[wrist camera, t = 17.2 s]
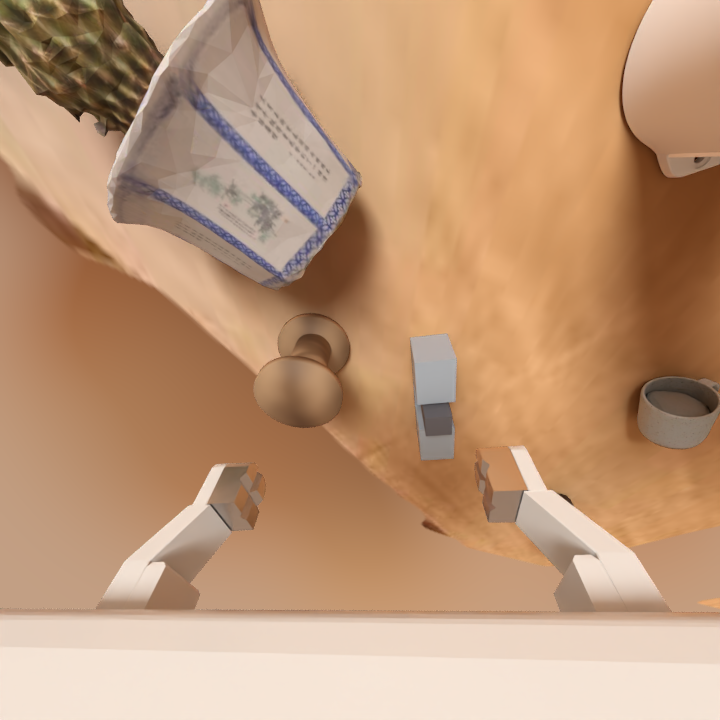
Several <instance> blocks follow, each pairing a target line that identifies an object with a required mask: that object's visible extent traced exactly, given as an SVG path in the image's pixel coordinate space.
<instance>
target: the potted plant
mask: <svg viewBox="0 0 720 720" xmlns="http://www.w3.org/2000/svg"><path fill="white" fill-rule="evenodd" d="M0 61H1V62H2V63H3V64H4V65H5V66H6V67H8V66H15V67H16V68H17V69H18V71H19V72H20V73H21V75H22V76H23V77H24V79H25V80H26V81H27V83H28V84H29V85H30V87H31V88H32V89H33V91H34V92H35V93H36V95H42V96H47V97H48V98H49V99H51V100H52V101H54V102H55V103H56V104H58V105H59V106H62V107H64V108H65V109H66V110H67V111H69V112H70V113H71V114H72V115H73V116H74V117H75V118H76V119H77V120H78V121H79V122H80V116H81V115H82V114H83V112H87V113H90V114H92V115H94V116H95V117H96V119H97V120H98V121H99V122H97V123H95V124H94V125H95V128H96V130H97V133H99V134H100V135H102V136H104V137H105V135H106V134H107V132H108V131H122V132H123V133H124V134H125V137H124V139H123V141H122V143H121V145H120V147H119V149H118V151H117V153H116V160H115V162H114V165H113V167H112V170H111V172H110V175H109V177H108V184H107V189H108V208H109V211H110V214H111V216H112V218H113V220H114V221H116V222H117V223H126V224H141V225H148V226H152V227H155V228H159V229H162V230H164V231H167V232H169V233H171V234H173V235H175V236H177V237H179V238H181V239H183V240H185V241H187V242H189V243H191V244H193V245H195V246H197V247H198V248H200V249H202V250H204V251H205V252H207V253H209V254H210V255H212V256H213V257H215V258H216V259H218V260H219V261H221V262H223V263H225V264H227V265H229V266H230V267H232V268H233V269H235V270H236V271H238V272H239V273H241V274H243V275H245V276H247V277H249V278H250V279H252V280H254V281H256V282H257V283H259V284H261V285H263V286H265V287H268V288H271V289H274V290H279V289H280V288H281V287H283V286H289V285H290V284H291V283H292V282H293V281H295V280H297V279H300V278H301V277H302V276H303V274H304V272H305V270H306V268H307V266H308V265H309V263H310V262H311V260H312V259H313V257H314V256H315V255H316V254H317V253H318V252H319V251H320V250H321V249H322V248H323V246H324V244H325V242H326V241H327V239H328V238H329V237H330V236H331V235H332V234H333V233H334V232H335V231H336V230H337V229H338V228H339V227H340V226H341V224H342V222H343V220H344V219H345V217H346V215H347V212H348V209H349V206H350V204H351V203H352V201H353V200H354V198H355V195H356V193H357V190H358V188H360V187H361V186H362V177H361V175H360V173H359V172H357V171H356V169H355V168H354V167H353V165H352V164H351V163H350V162H349V160H348V159H347V158H346V157H345V155H344V154H343V153H342V152H341V150H340V149H339V148H338V147H337V146H336V144H335V143H334V142H333V141H332V139H331V138H330V137H329V135H328V134H327V133H326V132H325V130H324V129H323V128H322V126H321V125H320V124H319V122H318V121H317V120H316V118H315V117H314V115H313V114H312V112H311V111H310V110H309V108H308V107H307V105H306V104H305V102H304V101H303V99H302V98H301V96H300V95H299V93H298V92H297V90H296V89H295V87H294V86H293V84H292V83H291V81H290V80H289V78H288V76H287V74H286V72H285V70H284V69H283V67H282V65H281V63H280V61H279V59H278V56H277V54H276V51H275V49H274V46H273V44H272V41H271V38H270V35H269V32H268V28H267V25H266V22H265V18H264V15H263V11H262V8H261V5H260V1H259V0H207V2H206V4H205V5H204V7H203V9H202V10H200V11H199V12H198V13H197V14H196V15H195V16H194V17H193V19H192V20H191V21H190V22H189V23H188V24H187V25H186V26H185V27H184V28H183V30H182V31H181V32H180V34H179V35H178V36H177V37H176V39H175V40H174V41H173V43H172V45H171V46H170V48H169V50H168V51H167V53H166V55H165V57H164V56H163V55H162V54H161V53H160V52H159V51H158V50H157V48H156V46H155V44H154V42H153V40H152V39H151V38H150V37H149V35H148V34H147V32H146V31H145V29H144V28H143V27H142V26H141V25H140V24H138V23H137V22H136V21H135V20H134V18H133V16H132V15H131V14H130V12H129V11H128V10H127V9H126V8H125V6H124V5H123V1H122V0H0Z"/></svg>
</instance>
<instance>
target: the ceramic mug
mask: <svg viewBox="0 0 720 720" xmlns="http://www.w3.org/2000/svg"><path fill="white" fill-rule="evenodd" d="M719 386H720V385H719V384H718V383H716V382H714V381H711V380H709V379H705V378H702V379H699V380H695V379H691V378H686V377H678V376H666V377H659V378H656V379H653V380H650V381H649V382H647V383H646V384H645V385H644V386H643V388H642V390H641V395H640V402H639V410H638V415H637V423H638V427H639V430H640V432H641V433H642V434H643V436H645V437H646V438H647V439H648V440H650V441H651V442H653V443H655V444H657V445H660V446H663V447H666V448H671V449H688V448H692V447H695V446H697V445H698V444H700V443H701V442H702V441H703V440H704V439H705V438H706V437H707V436H708V434H709V432H710V430H711V427H712V425H713V424H714V422H715V420H716V419H717V417H718V415H719V413H720V394H719V393H718V390H719Z"/></svg>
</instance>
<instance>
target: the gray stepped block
mask: <svg viewBox="0 0 720 720" xmlns="http://www.w3.org/2000/svg"><path fill="white" fill-rule="evenodd" d="M410 344H411V357H412V371H413V384H414V398H415V411H416V425H417V435H418V442H419V449H420V456H421V460H438V459H454V433H455V427H454V424H453V420H452V435H440V436H426V434H425V429H424V423H423V417H422V411H421V405H422V404H435V403H447V402H455V399H456V365H457V358H456V356H455V353H454V350H453V348H452V345H451V342H450V340H449V337H448V335H447V334H439V335H430V336H421V337H412V338H410Z"/></svg>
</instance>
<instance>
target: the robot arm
mask: <svg viewBox="0 0 720 720" xmlns="http://www.w3.org/2000/svg"><path fill="white" fill-rule="evenodd" d="M622 99H623V109H624V114H625V117H626V120H627V123H628V125H629V127H630V129H631V131H632V132H633V134H634V135H635V136H636V137H637V138H638V139H639V140H640V141H641V142H642V143H644V144H645V145H647V146H648V147H650V148H651V149H652V150H653V151H654V152H655V153H656V155H657V158H658V162H659V165H660V168H661V170H662V172H663V174H664V175H665V176H666V177H669V178H674V177H683V176H687V175H690V174H693V173H696V172H698V171H701V170H704V169H707V168H710V167H713V166H716V165H719V164H720V0H653V1H652V3H651V4H650V6H649V8H648V10H647V12H646V13H645V15H644V17H643V19H642V21H641V24H640V26H639V28H638V30H637V33H636V35H635V38H634V40H633V43H632V46H631V49H630V52H629V55H628V59H627V63H626V67H625V72H624V78H623V90H622ZM695 157H698V158H697V160H696V161H694V159H695ZM476 458H477V462H476V463H475V478H476V482H477V486H478V490H479V491H480V492H481V493H482V494H483V506H484V510H485V513H486V516H487V519H488V522H516V523H515V524H516V525H517V526H518V527H519V528H520V529H521V530H522V531H523V533H524V534H525V535H526V536H527V537H528V538H529V539H530V540H531V541H532V542H533V543H534V544H535V545H536V547H537V548H538V549H539V550H540V551H541V552H542V553H543V554H544V555H545V556H546V557H547V558H548V559H549V561H550V562H551V563H552V564H553V565H554V566H555V567H556V568H557V569H558V570H559V571H560V572H561V573H562V574H563V578H562V580H561V582H560V583H559V585H558V587H557V589H556V591H555V593H554V596H555V599H556V601H557V604H558V606H559V609H560V612H541V611H540V612H539V611H536V612H535V611H527V612H526V611H365V610H363V611H362V610H361V611H360V610H358V611H357V610H194V609H195V606H196V604H197V601H198V599H199V596H200V593H199V591H198V590H197V589H196V588H195V587H194V586H192V585H191V584H190V582H191V581H192V580H193V579H194V578H195V576H196V575H197V574H198V573H199V572H200V570H201V569H202V568H203V567H204V566H205V564H206V563H207V561H209V559H210V558H211V557H212V556H213V555H214V553H215V552H216V551H217V550H218V548H219V547H220V546H221V545H222V543H223V542H224V541H225V540H226V539H227V538H228V536H229V535H230V534H231V533H232V532H231V531H238V530H253V529H254V526H255V523H256V520H257V517H258V514H259V510H258V507H257V505H259V504H260V503H261V501H262V500H263V498H264V495H265V490H266V483H265V479H264V477H263V475H262V474H260V473H258V472H257V471H258V466H257V465H256V463H229V464H216V465H215V466H214V467H213V468H212V469H211V471H210V473H209V475H208V477H207V479H206V480H205V482H204V484H203V486H202V488H201V490H200V492H199V494H198V496H197V498H196V500H195V501H194V503H193V505H189V506H188V507H186V508H185V509H184V510H183V511H182V512H181V513H180V514H178V515H177V516H176V517H175V518H174V519H173V520H172V521H170V522H169V523H168V524H167V525H166V526H165V527H164V528H162V529H161V530H160V531H159V532H158V533H157V534H156V535H154V536H153V537H152V538H151V539H150V540H149V541H147V542H146V543H145V544H144V545H143V546H142V547H141V548H139V549H138V550H137V551H136V552H135V553H134V554H132V555H131V556H130V557H129V558H128V559H127V560H126V561H125V562H124V563H123V565H122V567H121V569H120V570H119V571H118V573H117V575H116V576H115V578H114V580H113V581H112V583H111V584H110V586H109V588H108V589H107V591H106V593H105V594H104V596H103V597H102V599H101V601H100V602H99V604H98V606H97V607H96V609H9V608H0V720H720V613H718V612H717V613H716V612H711V613H710V612H706V613H705V612H672V611H671V610H670V608H669V607H668V605H667V603H666V602H665V600H664V599H663V597H662V596H661V594H660V593H659V591H658V589H657V588H656V586H655V585H654V583H653V581H652V580H651V578H650V577H649V575H648V574H647V572H646V570H645V569H644V567H643V566H642V564H641V563H640V561H639V559H638V558H637V557H636V555H635V553H634V552H632V551H631V550H630V549H628V548H627V547H626V546H625V545H623V544H622V543H621V542H619V541H618V540H617V539H616V538H614V537H613V536H612V535H610V534H609V533H608V532H606V531H605V530H604V529H603V528H601V527H600V526H599V525H597V524H596V523H595V522H593V521H592V520H591V519H589V518H588V517H587V516H586V515H584V514H583V513H582V512H580V511H579V510H578V509H576V508H575V507H574V506H573V505H571V504H570V503H569V502H567V501H566V500H565V499H563V498H562V497H561V496H560V495H558V494H557V493H556V492H554V491H553V490H547V488H546V486H545V484H544V482H543V480H542V478H541V476H540V475H539V473H538V471H537V469H536V467H535V465H534V463H533V461H532V459H531V457H530V455H529V453H528V451H527V449H526V448H525V447H524V446H509V447H507V446H503V447H490V448H477V450H476Z"/></svg>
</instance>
